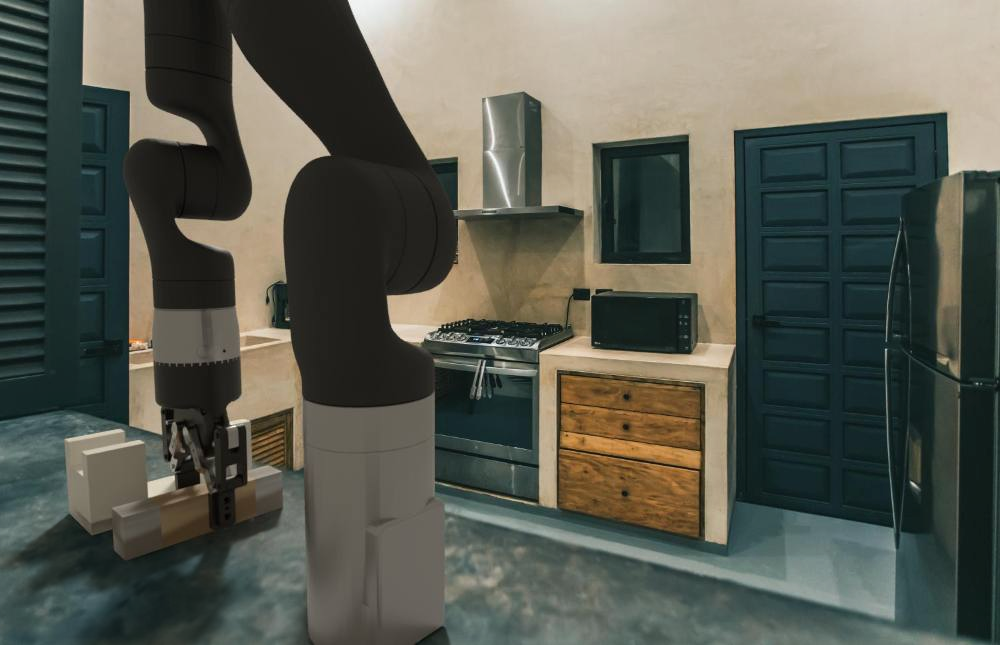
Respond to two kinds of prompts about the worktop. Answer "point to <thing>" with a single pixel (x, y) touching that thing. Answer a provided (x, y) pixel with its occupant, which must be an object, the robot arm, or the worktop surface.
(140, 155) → the robot arm
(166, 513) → the rail
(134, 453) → the white notched block
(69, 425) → the worktop surface
